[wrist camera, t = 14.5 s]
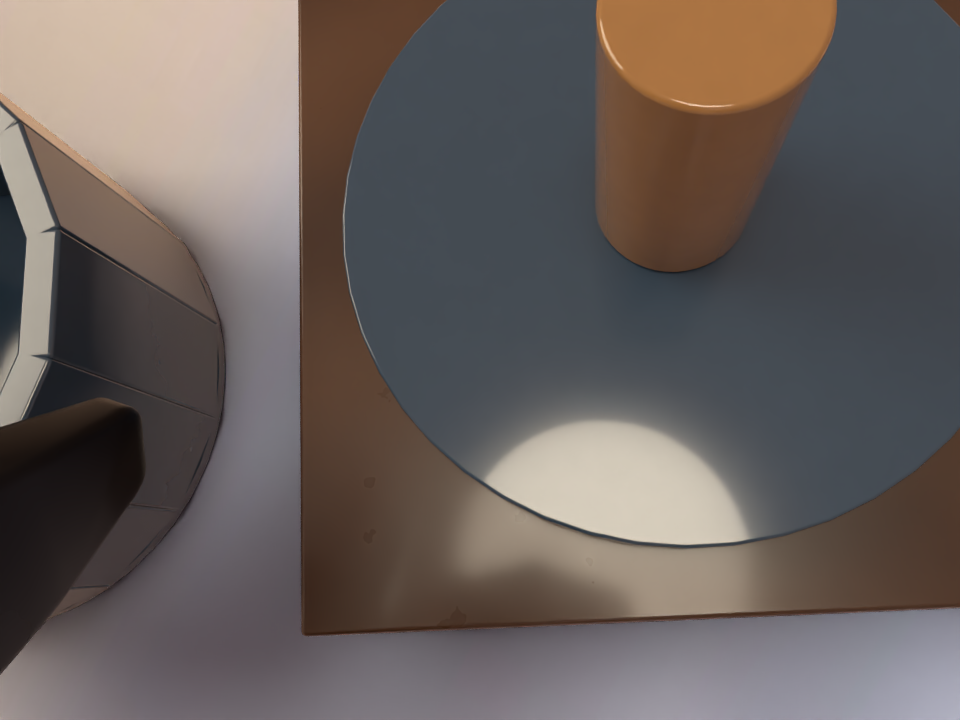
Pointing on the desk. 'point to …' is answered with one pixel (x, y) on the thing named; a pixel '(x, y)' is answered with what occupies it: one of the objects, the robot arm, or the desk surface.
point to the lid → (668, 255)
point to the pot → (104, 327)
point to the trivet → (481, 513)
